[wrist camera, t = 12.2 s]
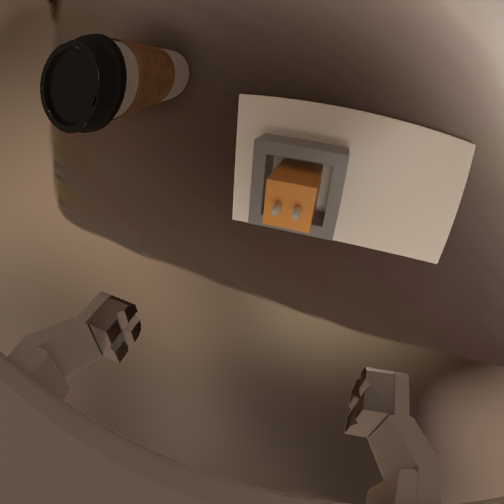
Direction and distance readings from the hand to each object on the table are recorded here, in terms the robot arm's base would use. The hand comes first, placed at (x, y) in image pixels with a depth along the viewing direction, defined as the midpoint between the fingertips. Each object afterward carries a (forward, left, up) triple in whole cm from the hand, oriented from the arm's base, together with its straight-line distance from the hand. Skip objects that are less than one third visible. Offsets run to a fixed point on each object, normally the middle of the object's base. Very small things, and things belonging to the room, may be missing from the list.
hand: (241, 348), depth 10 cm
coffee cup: (-8, -17, -25) cm, 31 cm away
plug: (+2, -1, -24) cm, 24 cm away
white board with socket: (+1, +4, -25) cm, 25 cm away
